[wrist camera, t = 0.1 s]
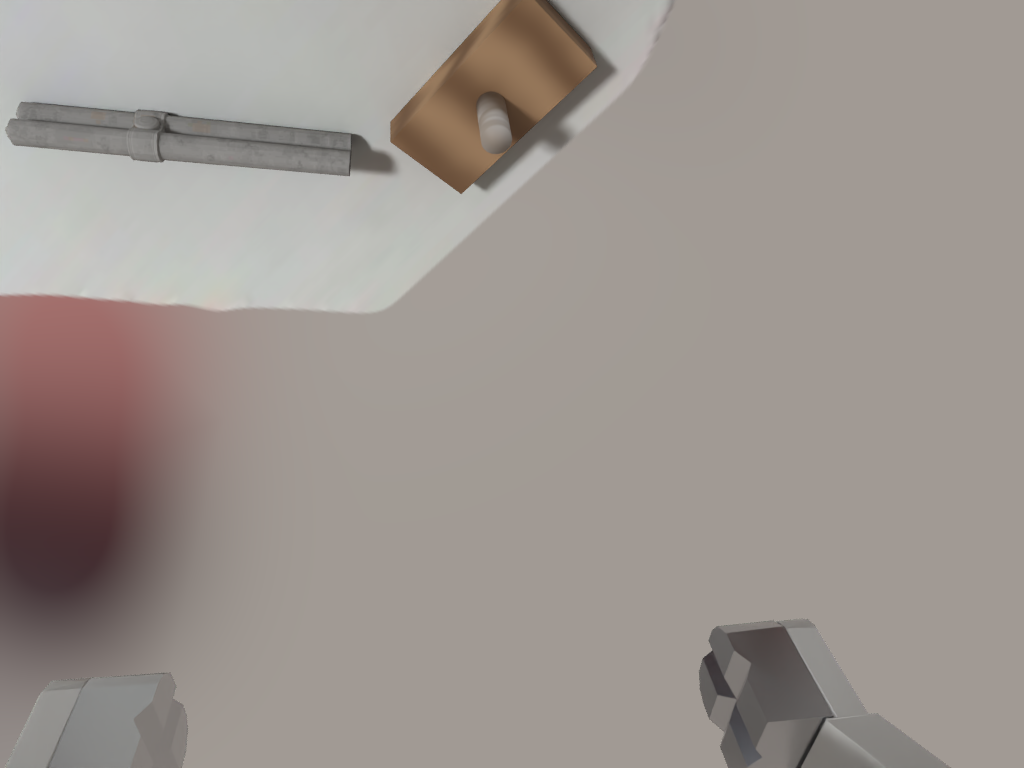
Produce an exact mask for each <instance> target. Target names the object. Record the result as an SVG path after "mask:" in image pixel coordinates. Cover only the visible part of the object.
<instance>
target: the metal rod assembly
mask: <svg viewBox="0 0 1024 768" xmlns="http://www.w3.org/2000/svg"><path fill="white" fill-rule="evenodd" d="M16 116H17V118H18V119H10V120H9V123H8V126H7V127H6V128H5V131H6V134H7V135H8V137H9V139H10V140H11V142H12V144H14V145H16V146H27V147H38V148H49V149H59V150H70V151H81V152H92V153H102V154H113V155H124V156H130V157H131V158H132V159H133V160H139V161H148V162H163V161H164V160H170V161H182V162H193V163H205V164H216V165H227V166H239V167H250V168H262V169H273V170H285V171H296V172H308V173H319V174H330V175H342V176H350V162H351V134H346V133H336V132H326V131H317V130H307V129H297V128H287V127H277V126H267V125H258V124H248V123H238V122H228V121H218V120H209V119H199V118H189V117H179V116H169V115H168V114H167V113H166V112H159V111H149V110H137V111H136V113H132V112H121V111H111V110H101V109H90V108H80V107H70V106H59V105H49V104H39V103H29V102H21V103H20V104H19V106H18V108H17V112H16Z"/></svg>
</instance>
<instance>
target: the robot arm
mask: <svg viewBox="0 0 1024 768" xmlns="http://www.w3.org/2000/svg"><path fill="white" fill-rule="evenodd" d="M709 643H710V645H711V648H712V651H711V652H710V653H709V654H707V655H706V656H705V657H704V658H703V659H702V663H701V667H700V670H699V680H700V691H701V696H702V699H703V703H704V706H705V709H706V712H707V714H708V717H709V719H710V720H711V721H712V722H713V723H715V724H716V725H717V726H718V727H719V728H720V729H722V730H723V731H724V734H723V738H722V742H721V746H720V748H721V750H722V753H723V755H724V758H725V760H726V763H727V766H728V768H951V767H949V766H948V765H946V764H945V763H944V762H942V761H941V760H940V759H938V758H937V757H936V756H934V755H933V754H932V753H930V752H929V751H928V750H926V749H925V748H924V747H922V746H921V745H920V744H918V743H917V742H915V741H914V740H912V739H911V738H910V737H909V736H907V735H906V734H905V733H903V732H902V731H901V730H899V729H898V728H896V727H895V726H894V725H892V724H891V723H890V722H888V721H887V720H886V719H884V718H883V717H882V716H880V715H879V714H878V713H876V714H875V713H874V714H868V712H867V711H866V709H865V707H864V706H863V704H862V702H861V701H860V700H859V698H858V696H857V694H856V692H855V691H854V689H853V688H852V686H851V684H850V683H849V681H848V679H847V678H846V676H845V674H844V673H843V671H842V669H841V668H840V666H839V664H838V663H837V661H836V659H835V658H834V656H833V655H832V653H831V651H830V650H829V648H828V646H827V645H826V643H825V641H824V640H823V638H822V636H821V635H820V633H819V632H818V630H817V628H816V626H815V625H814V624H813V623H812V622H810V621H809V620H808V619H794V620H784V621H764V622H754V623H744V624H735V625H724V626H717V627H716V628H714V629H713V630H712V632H711V635H710V638H709ZM175 689H176V684H175V682H174V679H173V677H172V675H171V673H155V674H142V675H127V676H113V677H100V678H93V677H92V678H80V679H70V680H69V679H68V680H57V681H51V682H50V684H48V686H47V687H46V688H45V689H44V690H43V691H42V693H41V694H40V696H39V697H38V700H37V702H36V704H35V706H34V708H33V710H32V712H31V714H30V716H29V718H28V720H27V723H26V725H25V727H24V729H23V731H22V733H21V735H20V737H19V739H18V742H17V743H16V746H15V747H14V750H13V752H12V754H11V756H10V758H9V760H8V762H7V764H6V766H5V768H182V765H183V761H184V757H185V753H186V745H187V734H188V725H187V715H186V712H185V709H184V706H183V704H181V703H179V702H178V701H176V700H174V699H173V696H174V692H175Z"/></svg>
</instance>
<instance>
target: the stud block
mask: <svg viewBox="0 0 1024 768" xmlns="http://www.w3.org/2000/svg"><path fill="white" fill-rule="evenodd" d="M596 67H597V65H596V62H595V59H594V56H593V54H592V51H591V48H590V47H589V46H588V45H587V44H586V43H585V42H584V40H583V39H582V38H581V37H580V36H579V35H578V34H577V33H576V32H575V31H574V30H573V29H572V28H571V26H570V25H569V24H568V23H567V22H566V21H565V20H564V19H563V18H562V17H561V16H560V15H559V14H558V12H557V11H556V10H555V9H554V8H553V7H552V6H551V5H550V4H549V3H548V2H547V1H546V0H501V1H500V2H499V3H498V4H497V5H496V6H495V7H494V9H493V10H492V11H491V12H490V13H489V14H488V15H487V16H486V17H485V18H484V20H483V21H482V22H481V23H480V24H479V25H478V26H477V27H476V28H475V29H474V31H473V32H472V33H471V34H470V35H469V36H468V37H467V38H466V39H465V41H464V42H463V43H462V44H461V45H460V46H459V47H458V48H457V49H456V50H455V52H454V53H453V54H452V55H451V56H450V57H449V58H448V59H447V60H446V61H445V63H444V64H443V65H442V66H441V67H440V68H439V69H438V70H437V71H436V72H435V74H434V75H433V76H432V77H431V78H430V79H429V80H428V81H427V82H426V83H425V85H424V86H423V87H422V88H421V89H420V90H419V91H418V92H417V93H416V95H415V96H414V97H413V98H412V99H411V100H410V101H409V102H408V103H407V104H406V106H405V107H404V108H403V109H402V110H401V111H400V112H399V113H398V114H397V115H396V117H395V118H394V119H393V120H392V121H391V143H393V144H394V145H395V146H397V147H398V148H399V149H401V150H402V151H404V152H405V153H406V154H408V155H409V156H410V157H412V158H413V159H414V160H416V161H417V162H418V163H420V164H421V165H423V166H424V167H425V168H427V169H428V170H429V171H431V172H432V173H433V174H435V175H436V176H438V177H439V178H440V179H442V180H443V181H444V182H446V183H447V184H448V185H450V186H451V187H452V188H454V189H455V190H457V191H458V192H459V193H461V194H462V193H463V192H464V191H465V190H466V189H467V188H468V187H469V186H470V185H471V184H473V183H474V182H475V181H476V180H477V179H478V178H479V177H480V176H481V175H482V174H483V173H484V172H485V171H486V170H487V169H489V168H490V167H491V166H492V165H493V164H494V163H495V162H496V161H497V160H498V159H499V158H500V157H501V156H502V155H503V154H505V153H506V152H507V151H508V150H509V149H510V148H511V147H512V146H513V145H514V144H515V143H516V142H517V141H518V140H519V139H521V138H522V137H523V136H524V135H525V134H526V133H527V132H528V131H529V130H530V129H531V128H532V127H533V126H534V125H536V124H537V123H538V122H539V121H540V120H541V119H542V118H543V117H544V116H545V115H546V114H547V113H548V112H549V111H550V110H552V109H553V108H554V107H555V106H556V105H557V104H558V103H559V102H560V101H561V100H562V99H563V98H564V97H565V96H566V95H568V94H569V93H570V92H571V91H572V90H573V89H574V88H575V87H576V86H577V85H578V84H579V83H580V82H581V81H582V80H584V79H585V78H586V77H587V76H588V75H589V74H590V73H591V72H592V71H593V70H594V69H595V68H596Z"/></svg>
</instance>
